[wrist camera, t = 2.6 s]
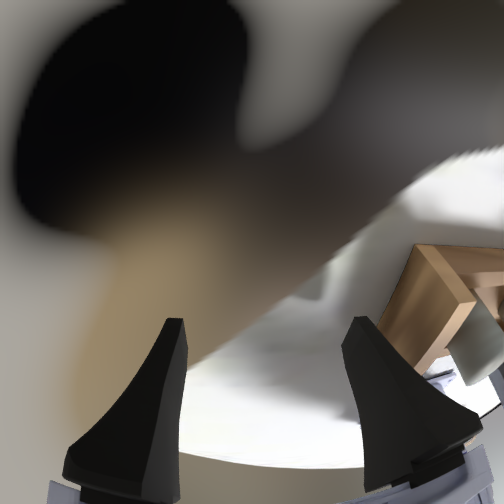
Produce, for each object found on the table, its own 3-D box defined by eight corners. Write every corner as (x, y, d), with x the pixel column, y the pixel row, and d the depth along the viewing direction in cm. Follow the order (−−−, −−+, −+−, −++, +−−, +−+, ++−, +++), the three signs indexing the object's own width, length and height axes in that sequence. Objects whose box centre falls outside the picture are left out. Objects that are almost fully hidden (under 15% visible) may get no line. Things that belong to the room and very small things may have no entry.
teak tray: (507, 315, 17) (535, 360, 13) (368, 340, 16) (397, 421, 11) (544, 251, 13) (582, 296, 9) (414, 244, 12) (479, 334, 7)
